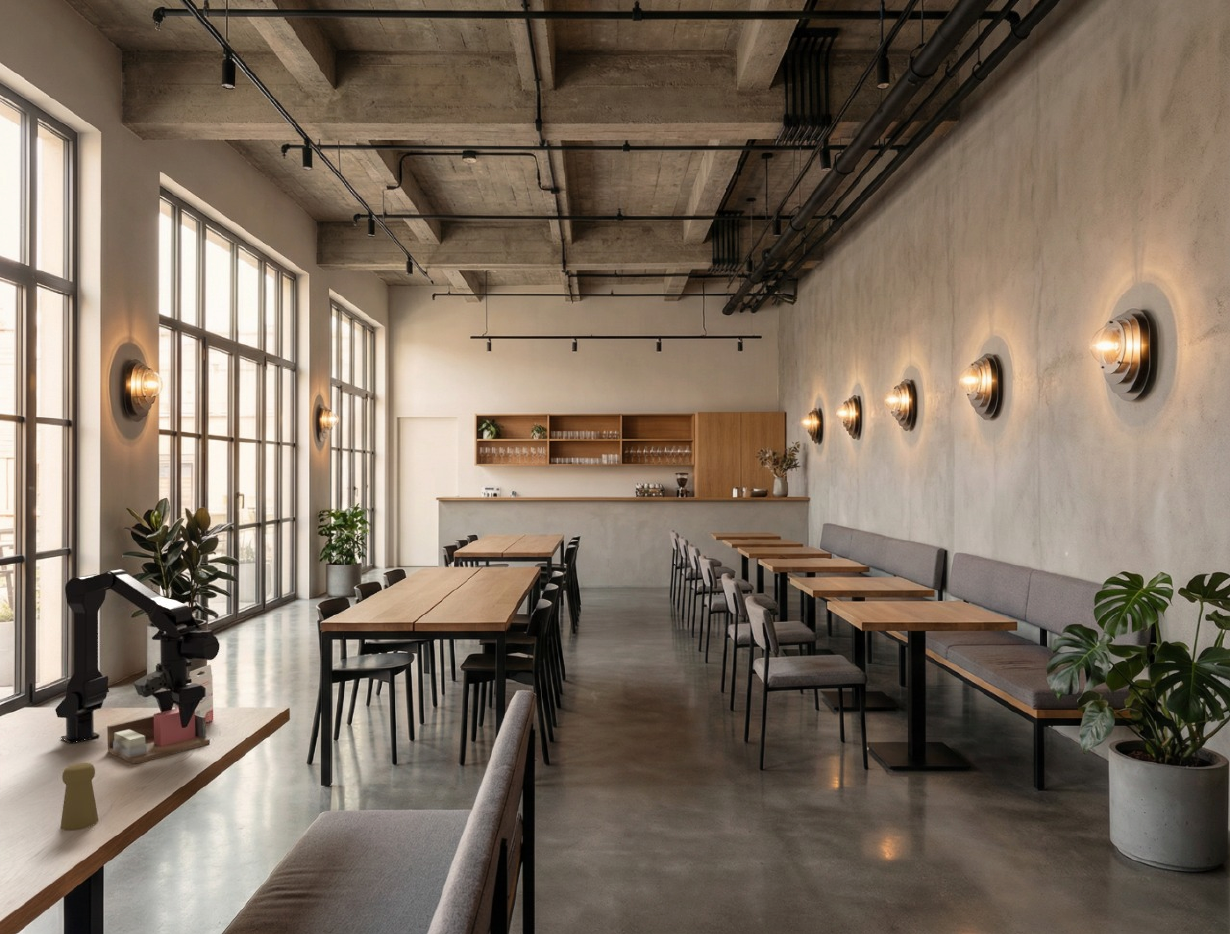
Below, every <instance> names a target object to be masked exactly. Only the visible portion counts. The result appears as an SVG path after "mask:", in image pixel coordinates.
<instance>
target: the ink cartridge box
mask: <svg viewBox="0 0 1230 934" xmlns="http://www.w3.org/2000/svg"><path fill="white" fill-rule="evenodd" d="M212 672H213V671H212V665H211V664H207V665H205V666H202V667H201V666H200V667H198V668H196V669H194V670H191V671H188V677H189V678H190V679H191V681H192V683H189V684H193V683H196V684H199V685H202V686H203V687H205V688H206V696H205V697H203V699H202V700H200V702H199V704H198V706H197V708H196V709H195V714H198V715H201V716H204V717H205V723H206V722H208V721H210V722H212V721H213V720H214V697H213V695H214V692H213V691H214V689H213V688H214V687H213V673H212ZM200 673H202V674H200ZM198 674H199V675H198ZM189 684H186V685H189ZM177 708H178V706H177V705H175V704H174V709H177ZM211 720H212V721H211ZM208 723H209V722H208ZM206 724H207V723H206Z"/></svg>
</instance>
